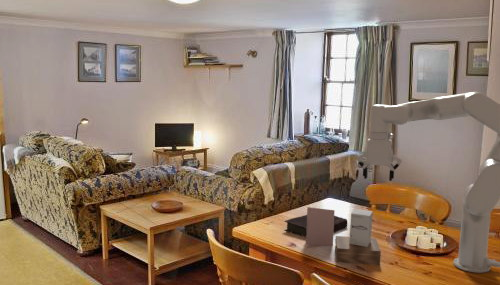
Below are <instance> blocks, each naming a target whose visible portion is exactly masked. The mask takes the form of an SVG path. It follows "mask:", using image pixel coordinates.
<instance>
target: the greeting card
mask: <svg viewBox="0 0 500 285" xmlns="http://www.w3.org/2000/svg"><path fill="white" fill-rule="evenodd" d="M306 215H307V232H306V236H305V238H306V239H305V242H307V243H306V244H307V246H306V247H307V248H316V247H324V246H325V247H326V246H327V247H328V246H334V233H335V232H334V216H335V210H334V209H327V208H316V207H307V209H306Z"/></svg>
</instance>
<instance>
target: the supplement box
mask: <svg viewBox="0 0 500 285" xmlns="http://www.w3.org/2000/svg"><path fill="white" fill-rule="evenodd" d="M373 214H374V211H373V210H366V209H359V208H354V209H353V210H352V211H351V214H350V226H349V237H350V239H349V244H353V245H359V246H364V247H368V245H369V243H370V241H371V238H372V231H373V230H372V226H373Z"/></svg>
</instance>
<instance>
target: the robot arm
mask: <svg viewBox="0 0 500 285" xmlns="http://www.w3.org/2000/svg"><path fill="white" fill-rule="evenodd" d="M369 116H370V118H369V119H370V120H369V138H367V142H366V149H365V153H363V154H361V155H359V156H357V157H356V161H357V163H358V165H359V166H360V167H361V168H362V177H363V179H364V180H366V179H367V178H368V166H369V165H371V166H381V167H383V166H385V167H388V168H389V169H390V170H389V175H388V176H389V178H388V180H389V182H391V181H393V179H394V178H395V170H397V168H399V166H400V164H401V163H402V162H403V160H402V158H400V157H399V156H396V155H395V154H394V153H393V152H394V150H393V148H394V147H393V142H392V141H393V140H392V139H391V138H394V137H395V136H394V135H395V134H394V133H391V124H392V125H397V126H398V125H399V126H401V125H405V124H407V123H410V122H417V121H424V120H426V121H427V120H434V121H435V120H436V121H442V120H443V121H444V120H451V119H458V118H468V117H472V118H473V119H474V120H475V121H477V122H479V123H480V124H482V125H484V126H485V127H487V128H489V129H491V130H492V131H494V132H495V133H496V140H495V142H494V144H493V145H492V147H491V150H490V151H489V152H488V154H487V156H486V157H485V159H484V160H483V162H482V163H481V165H480V167H479V168H478V176H477V177H476V179H475V180H474V182H473V183H471V184H470V185H469V184H468V186H467V187H466V188H465V190H464V192H463V194H462V207H461V208H462V209H461V210H462V211H461V224H460V232H459V233H460V234H459V245H458V254H457V255H458V256H457V257H455V258H454V259H453V260H452V261H453V266H455V267H456V268H457V269H460V270H462V271H466V272H470V273H480V274H482V273H488V272H490V271H491V267H494V268H495V267H496V268H500V261H497V259H490V258H489V257H488V246H489V234H490V227H491V226H490V225H491V215H492V214H491V213H492V211H493V210H494V208H495V206H496V205H497V204H498V203H499V200H500V103H498V102H497V101H495V100H494V99H492V98H491V97H489V96H488V95H486V94H485V93H483V92H481V91H469V92H464V93H458V94H451V95H446V96H438V97H437V96H436V97H433V98H430V99H424V100H418V101H411V102H405V103H400V104H397V105H389V104H372V105H371V107H370V115H369ZM363 158H364V159H365V161H364V162H363V161H362V159H363ZM393 161H396V163H395V165H393Z"/></svg>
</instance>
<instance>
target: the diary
mask: <svg viewBox="0 0 500 285" xmlns="http://www.w3.org/2000/svg"><path fill="white" fill-rule="evenodd" d="M283 221H284V222H285V223H286V229H284V230H283V231H285V232H286V233H287V232H288V233H291V234H294V235H298V236H300V237H301V236H304V237H306V232H307V214H304V215H302V216H301V215H300V216H296V217H292V218H290V219H287V220H283ZM347 227H348V219H347V218H343V217H342V216H341V217H340V216H337V215H334V233H336V232H339V231H340V230H344V229H347Z"/></svg>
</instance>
